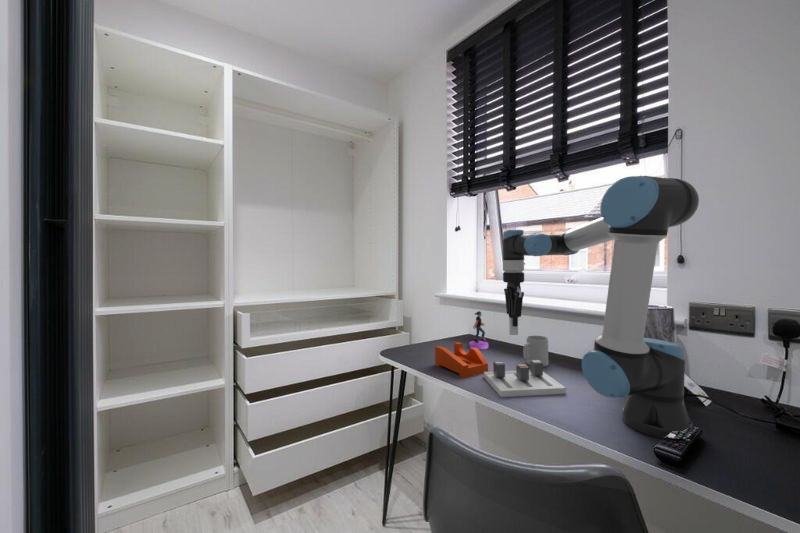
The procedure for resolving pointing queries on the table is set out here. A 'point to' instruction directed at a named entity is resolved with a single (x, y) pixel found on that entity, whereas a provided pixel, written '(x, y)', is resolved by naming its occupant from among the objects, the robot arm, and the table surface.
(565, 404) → the table surface
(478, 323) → the figurine
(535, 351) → the mug
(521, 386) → the panel
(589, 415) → the table surface
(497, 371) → the block
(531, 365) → the block
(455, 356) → the tape dispenser
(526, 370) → the block
